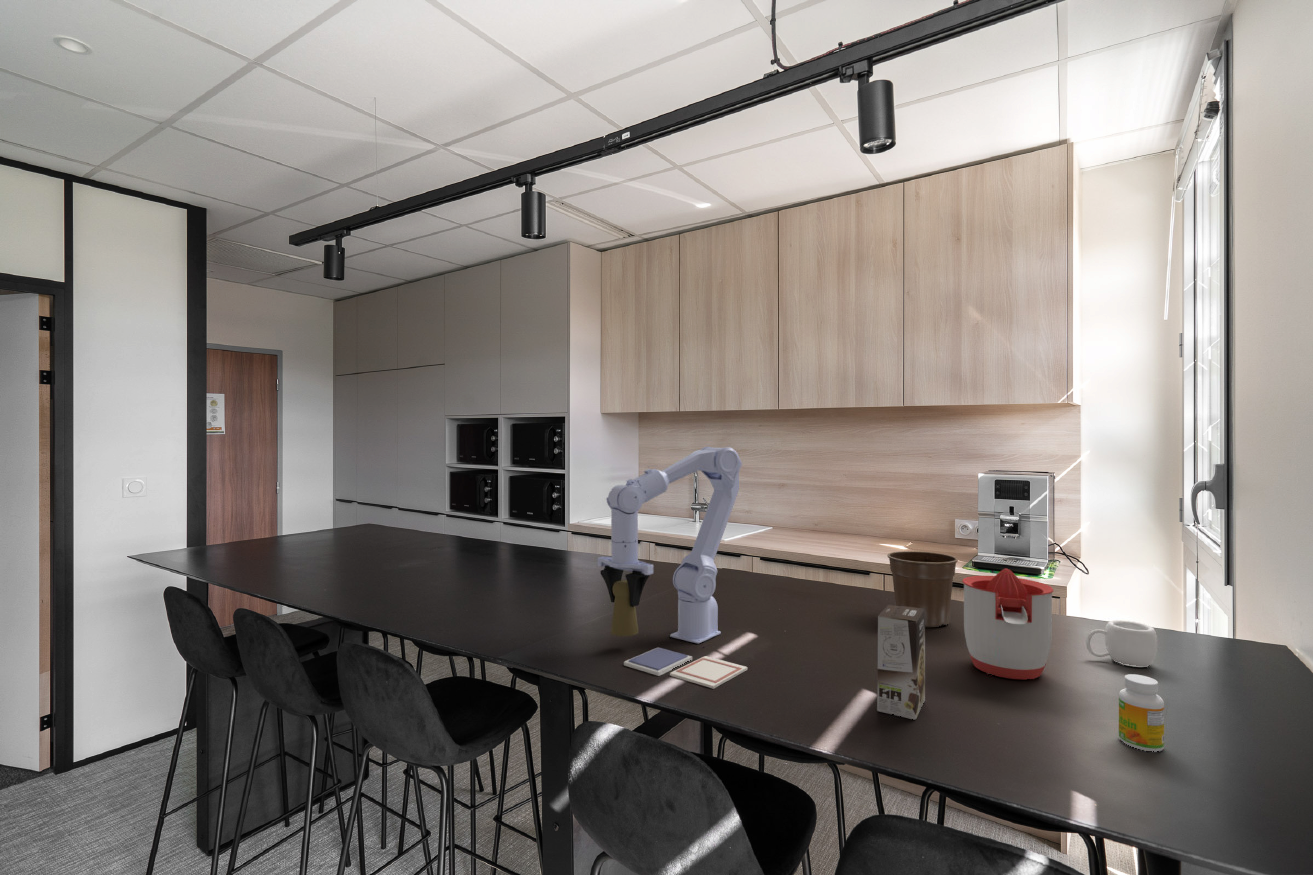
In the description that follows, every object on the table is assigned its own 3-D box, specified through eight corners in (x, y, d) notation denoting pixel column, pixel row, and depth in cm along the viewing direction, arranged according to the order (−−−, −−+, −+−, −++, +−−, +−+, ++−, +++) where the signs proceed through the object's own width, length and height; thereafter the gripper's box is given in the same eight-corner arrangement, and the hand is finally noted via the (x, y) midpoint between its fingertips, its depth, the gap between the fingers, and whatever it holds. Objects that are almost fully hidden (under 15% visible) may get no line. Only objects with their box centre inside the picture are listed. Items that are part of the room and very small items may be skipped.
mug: (1146, 659, 129) (1146, 621, 129) (1165, 673, 121) (1165, 633, 121) (1079, 652, 133) (1079, 615, 133) (1093, 666, 125) (1093, 627, 125)
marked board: (705, 658, 129) (705, 655, 129) (747, 669, 123) (747, 666, 123) (669, 675, 120) (669, 672, 120) (713, 688, 114) (713, 685, 114)
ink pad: (658, 650, 134) (658, 645, 134) (692, 659, 128) (692, 655, 128) (623, 665, 125) (623, 660, 125) (658, 675, 120) (658, 670, 120)
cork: (634, 636, 131) (634, 584, 132) (607, 635, 133) (607, 583, 133) (641, 629, 137) (641, 578, 138) (614, 627, 138) (614, 577, 139)
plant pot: (881, 610, 165) (881, 549, 165) (945, 612, 163) (945, 551, 163) (895, 629, 149) (896, 561, 149) (967, 632, 147) (967, 563, 147)
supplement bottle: (1109, 736, 96) (1109, 672, 96) (1142, 734, 96) (1142, 671, 96) (1139, 753, 90) (1139, 686, 90) (1173, 752, 91) (1174, 685, 91)
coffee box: (917, 721, 101) (917, 621, 101) (875, 711, 104) (876, 615, 104) (926, 700, 108) (926, 607, 108) (887, 692, 112) (887, 602, 112)
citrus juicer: (968, 682, 117) (968, 575, 117) (958, 652, 133) (958, 558, 133) (1065, 694, 111) (1066, 582, 111) (1042, 661, 128) (1042, 563, 127)
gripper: (587, 539, 137) (587, 601, 137) (638, 546, 127) (638, 613, 128) (609, 535, 142) (609, 595, 142) (659, 542, 133) (659, 606, 133)
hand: (624, 603), depth 135 cm, fingers closed on cork, 5 cm apart
